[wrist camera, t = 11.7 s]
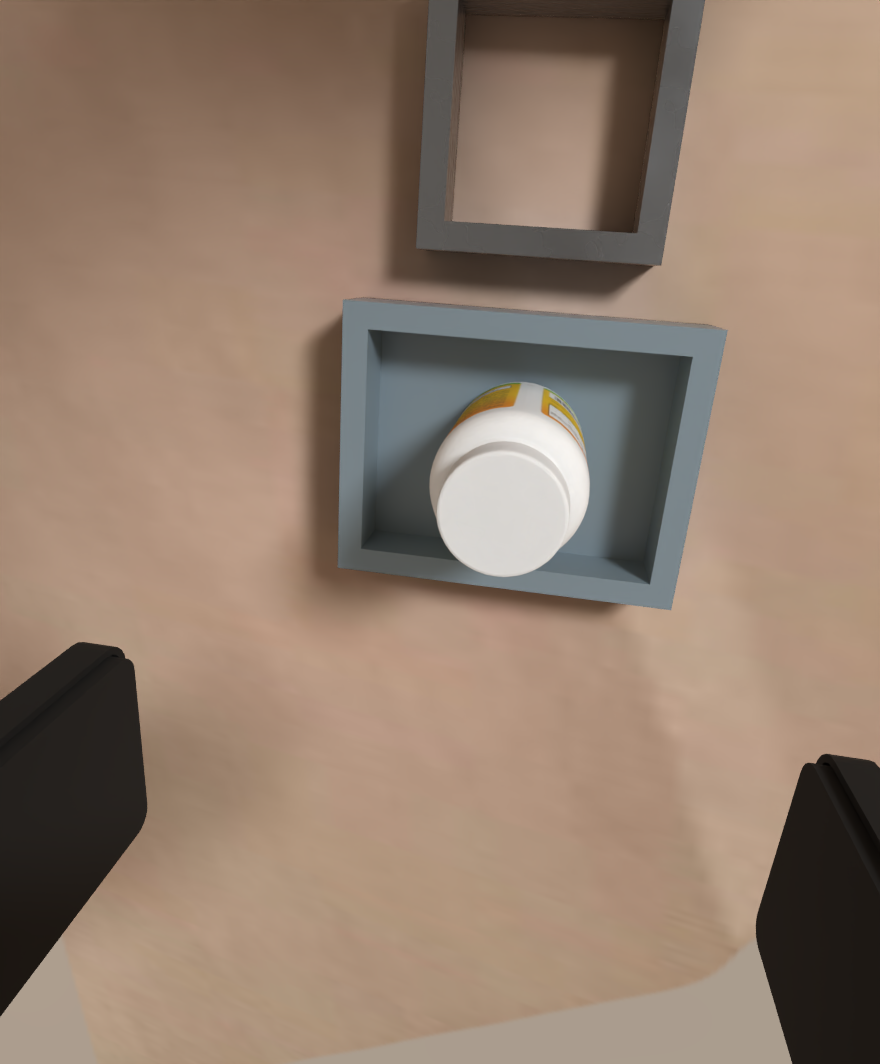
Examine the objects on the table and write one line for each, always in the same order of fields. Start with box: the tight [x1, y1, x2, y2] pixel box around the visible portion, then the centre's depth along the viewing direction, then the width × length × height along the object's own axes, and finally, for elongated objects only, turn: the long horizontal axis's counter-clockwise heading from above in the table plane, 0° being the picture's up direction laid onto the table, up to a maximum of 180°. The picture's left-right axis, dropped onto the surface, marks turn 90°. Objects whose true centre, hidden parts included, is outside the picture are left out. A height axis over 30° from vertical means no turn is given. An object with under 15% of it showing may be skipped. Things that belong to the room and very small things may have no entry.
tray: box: [338, 298, 728, 610], centre depth 29 cm, size 11×14×3 cm
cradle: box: [416, 0, 705, 266], centre depth 25 cm, size 9×9×2 cm
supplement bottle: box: [429, 382, 590, 577], centre depth 25 cm, size 5×5×10 cm
